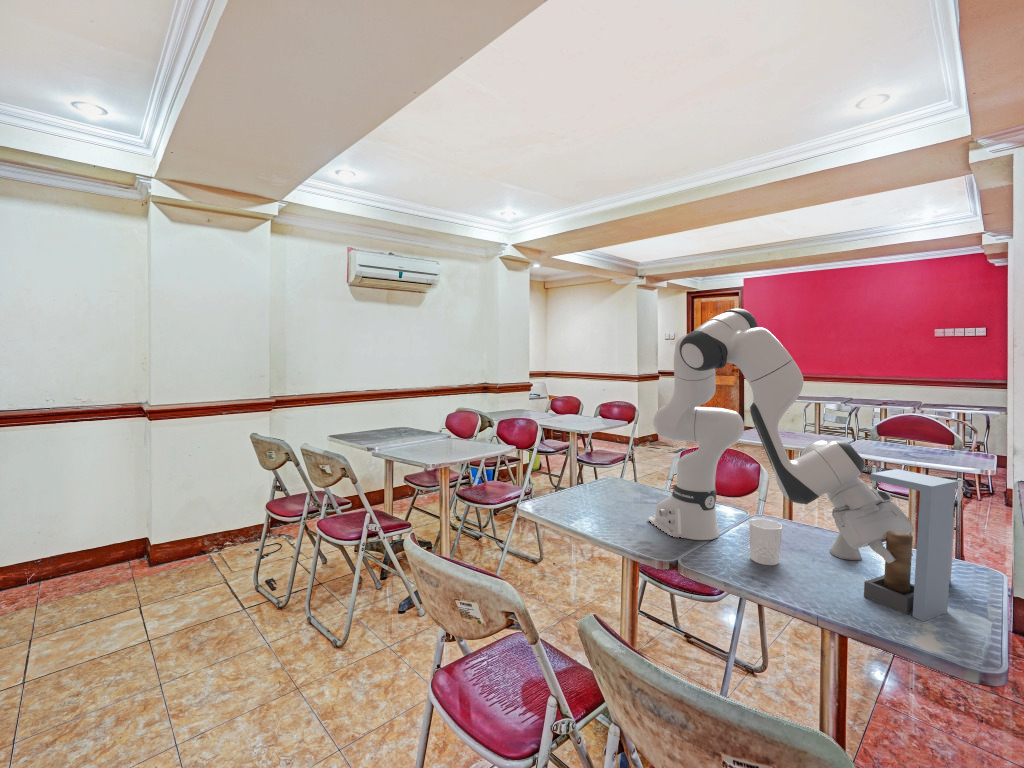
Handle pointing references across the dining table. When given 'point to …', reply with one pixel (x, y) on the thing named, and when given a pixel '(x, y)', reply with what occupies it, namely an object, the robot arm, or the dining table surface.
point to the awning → (929, 538)
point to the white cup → (765, 541)
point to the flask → (844, 549)
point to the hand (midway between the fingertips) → (901, 559)
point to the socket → (889, 595)
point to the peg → (899, 561)
